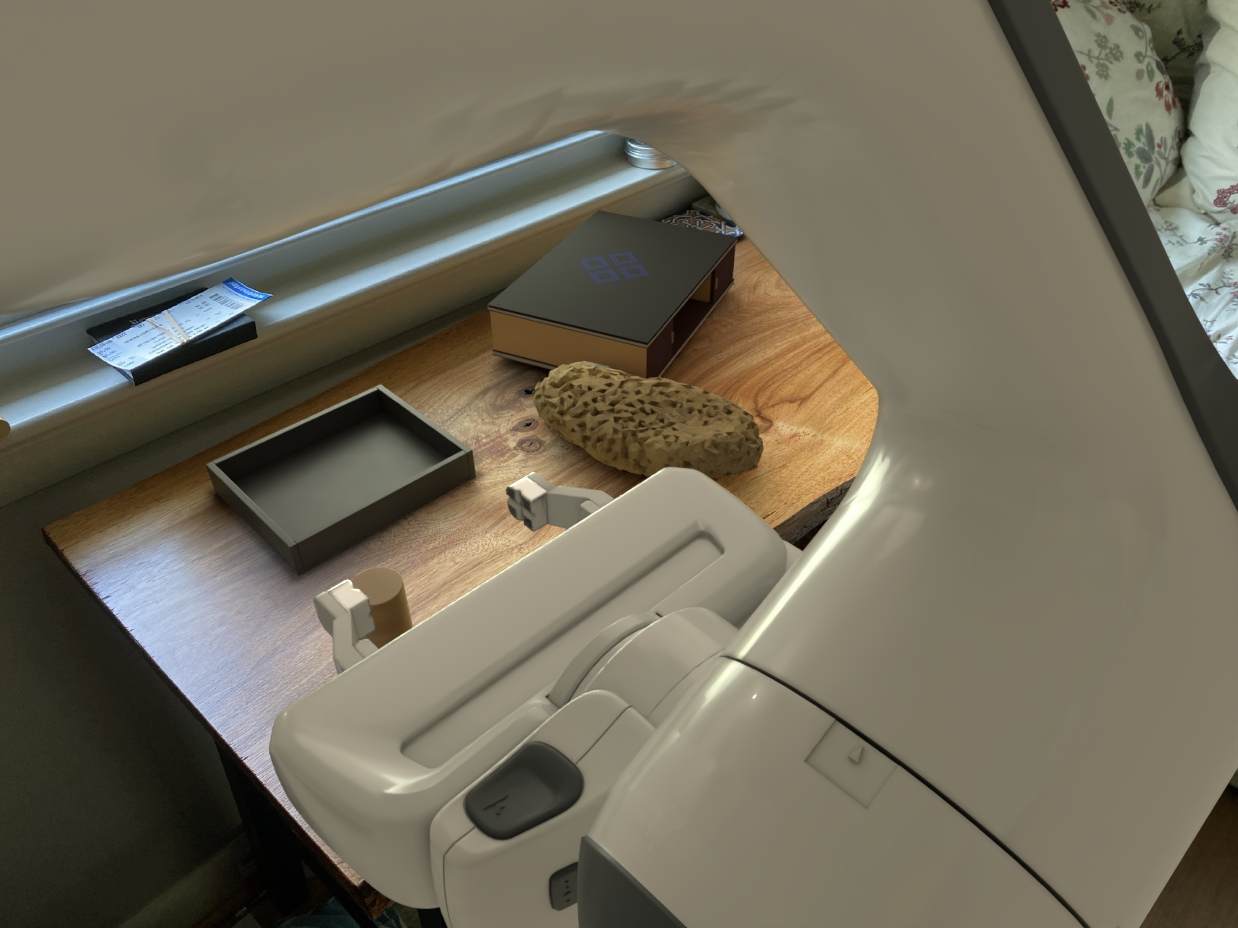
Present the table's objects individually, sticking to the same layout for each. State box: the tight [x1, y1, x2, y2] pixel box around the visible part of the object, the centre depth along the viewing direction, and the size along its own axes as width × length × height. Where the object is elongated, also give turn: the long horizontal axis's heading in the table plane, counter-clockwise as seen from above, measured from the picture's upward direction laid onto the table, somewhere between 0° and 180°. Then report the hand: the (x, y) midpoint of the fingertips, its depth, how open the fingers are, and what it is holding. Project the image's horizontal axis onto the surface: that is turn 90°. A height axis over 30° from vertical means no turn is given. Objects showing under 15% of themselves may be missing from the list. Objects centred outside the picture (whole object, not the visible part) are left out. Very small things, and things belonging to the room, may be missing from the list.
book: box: [486, 209, 738, 379], centre depth 100 cm, size 17×25×7 cm
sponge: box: [532, 361, 764, 480], centre depth 82 cm, size 13×8×20 cm
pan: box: [205, 384, 477, 576], centre depth 80 cm, size 17×14×3 cm
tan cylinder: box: [350, 566, 414, 649], centre depth 58 cm, size 5×5×12 cm
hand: (431, 541), depth 39 cm, fingers open, 8 cm apart
